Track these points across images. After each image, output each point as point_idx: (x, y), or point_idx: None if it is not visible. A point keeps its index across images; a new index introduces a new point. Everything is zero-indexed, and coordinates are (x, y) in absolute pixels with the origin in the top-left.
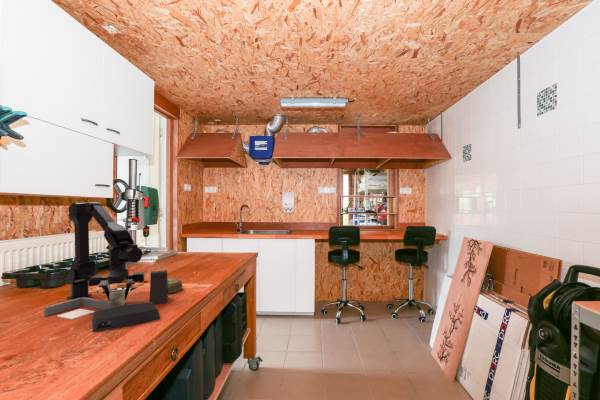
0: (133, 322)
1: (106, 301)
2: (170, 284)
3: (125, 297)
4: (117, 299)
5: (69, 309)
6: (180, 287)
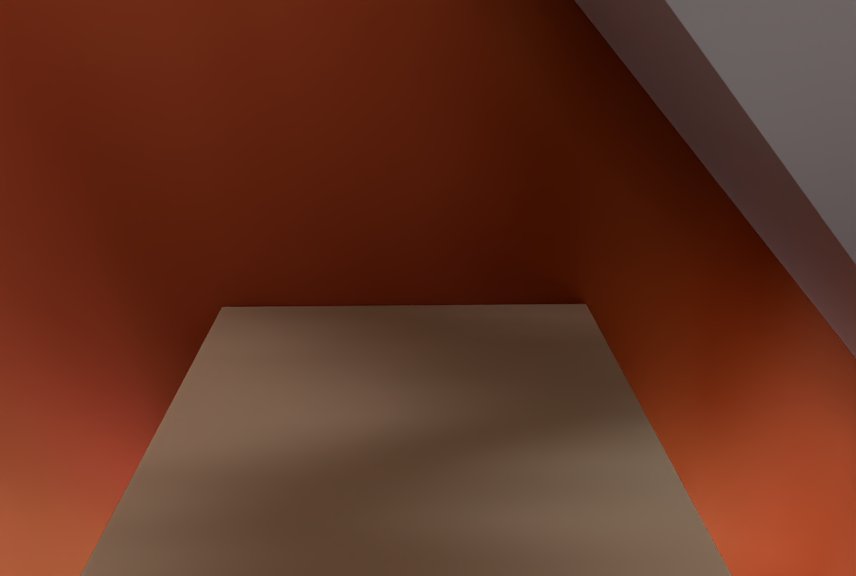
0: None
1: (826, 53)
2: None
3: None
4: (386, 420)
5: None
6: None
